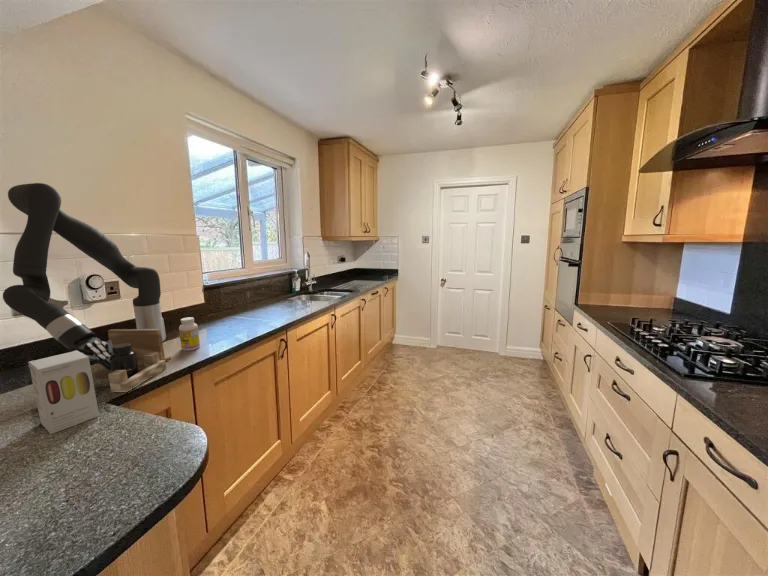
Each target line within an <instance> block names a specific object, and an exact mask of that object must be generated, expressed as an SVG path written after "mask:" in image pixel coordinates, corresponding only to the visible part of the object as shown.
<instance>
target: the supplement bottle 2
mask: <svg viewBox="0 0 768 576" xmlns="http://www.w3.org/2000/svg"><path fill="white" fill-rule="evenodd" d="M180 323H181V324H180V325H179V327H178V330H179V339H180V348H181V350H182V351H186V352H188V351H189V352H190V351H193V350H194V351H195V350H197V349H199V348H200V347H201V343H200V335H199V327H198V324H197V323H195V318H194V317H193V316H191V317H190V316H188V317H183V318H181V319H180Z"/></svg>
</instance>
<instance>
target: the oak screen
mask: <svg viewBox="0 0 768 576" xmlns="http://www.w3.org/2000/svg"><path fill="white" fill-rule="evenodd" d="M107 335H108V340H110V341H112V347H113V346H115V345H118V344H123V343H130V344H131V346H132V350H131V351H134V352H135V353H136V355H137V362H138V365H145V363H144V355H146V354H148V353H158V354H159V361H161V360H165V363H166V361H167V362H168V361H170V360H171V359H172V357H171V356H169V355H167V356H166V355H165V349H164V343H163V341H162V336H161V329H137V328H133V329H132V328H129V329H128V328H122V329H119V328H117V329H115V328H113V329H112V328H111V329H109V330H107ZM113 354H114V353H113ZM113 354H112V355H113ZM169 359H170V360H169Z"/></svg>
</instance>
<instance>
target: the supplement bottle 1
mask: <svg viewBox="0 0 768 576" xmlns="http://www.w3.org/2000/svg"><path fill="white" fill-rule="evenodd" d="M131 350H132V346H131V344H130V343H123V344H118V345H115V346H113V347H112V353H114V354H113V355H111V356H110V367H111V371H110V373H112V372H114V371H116V370H126V372H127V378H128V379H129V378H130V377H132V376H134V375H135V374H137V373H139V372H140V370H139V364H138V362H137V355H136V353H135V352H134V351H131Z"/></svg>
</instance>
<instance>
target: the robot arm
mask: <svg viewBox="0 0 768 576" xmlns="http://www.w3.org/2000/svg"><path fill="white" fill-rule="evenodd" d="M7 197H8V201H9V202H10V203H11V204H12V206H13V207H14V208H15V209H17V210H19V212H21V213H23V214H25V215H26V216H27V219H26V220H27V221H26V225H25V228H24V230H23V233H22V234H21V236H20V238H19V240H18V242H17V244H16V246H15V250H14V256H13V263H12V273H13V275H14V276H15V277H17V278H20V279H21V281H22V284H16V285H15V284H14V285H9V286H8V287H7V288H5V289H4V291H3V292H2V300H3V301H4V303H5V304H6V305H7V306H8V307H9V308H10V309H12V310H14V311H16V312H17V313H19V314H21V315H23V316H24V317H26V318H29V319H30V320H33V321H35V322H36V323H37V324H38V325H40V326H41V327H42V328H43V329H44V330H46V331H47V333H49V335H50V336H51V337H53V338H54V339H55V340H56V341H57V342H58V343H60V344H61V345H62V346H64V347H65V348H66V349H67V350H68V351H71V352H72V351H76V350H77V351H79V352H81V353H83V354H84V355H86V356H88V357H89V361H90V366H95V364H98V365H101V366H102V367H103V368H104V369H106V370H108V371H109V372H111V367H110V357H111V355H112V354H113V353H112V341H110V340H109V339H108V340H107V341H103V340H101V339H100V338H98V337H96V335H95V332H93V331H92V330H91V329H90V328H89V327H88V326H87V325H85V324H84V323H83V322H81V320H79V319H78V318H76V317H75V316H73V315H72V314H71V313H69V312H68V311H67V310H66V309H65V308H63V307H62V306H60V305H59V304H56V303H52V302H49V300H50V298H51V286H50V283H49V278H48V275H47V268H48V267H47V266H48V257H49V248H50V243H51V239H52V236H53V234H52V233H53V232H55V233H56V234H57V235H59V236H60V237H61V238H62V239H64V240H66V241H67V243H68V242H69V243H70V244H71V245H73V246H74V247H75V248H77V250H79V251H81V252H82V253H84V254H85V255H86V256H88V257H89V258H90V259H93V260H94V261H96V263H99V264H100V265H102V266H103V267H104V268H106V269H108V270H109V271H111V272H112V273H113V274H114V275H116V277H117V278H119V280H121V281H122V282H123V283H125V285H126V286H128V287H131V288H132V289H137V291H138V293H137V296H136V297H135V298H133V299H132V306H133V313H134V318H135V319H134V320H135V324H136V329H161V336H162V342H164V341H165V340H166V338H167V335H166V328H165V321H164V317H163V316H162V309H161V302H160V301H161V300H160V298H161V294H162V293H161V292H162V291H161V279H160V276H159V273H158V271H157V270H156V269H155V268H152V267H145V266H144V267H143V266H137V265H135V264H134V263H132V262H130V261H129V259H128V260H127V258H125V257H124V255H122V253H121V251H120V249H119V247H118V245H117V244H116V243H115V242H114V241H113V240H112V239H111V238H109V237H108V236H107V235H106V234H104V233H103V232H102V231H101V230H99V229H98V228H96V227H94V226H92V225H90V224H88V223H86V222H84V221H82V220H79V219H76V217H73V216H71V215H69V214H67V213H66V212H65V211H63V210H62V209H61V206H62V197H61V194H60V193H59V191H58V190H57V189H56V188H54V186H52V185H50V184H47V183H43V182H42V183H41V182H33V183H24V184H18V185H13V186H12V187H10V188H9V189H8V191H7Z"/></svg>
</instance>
